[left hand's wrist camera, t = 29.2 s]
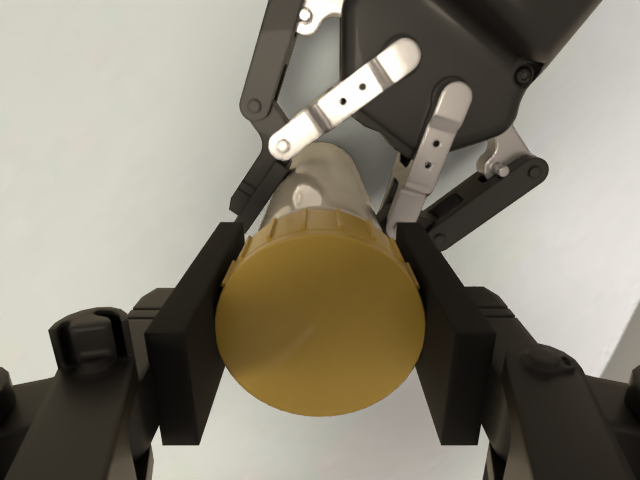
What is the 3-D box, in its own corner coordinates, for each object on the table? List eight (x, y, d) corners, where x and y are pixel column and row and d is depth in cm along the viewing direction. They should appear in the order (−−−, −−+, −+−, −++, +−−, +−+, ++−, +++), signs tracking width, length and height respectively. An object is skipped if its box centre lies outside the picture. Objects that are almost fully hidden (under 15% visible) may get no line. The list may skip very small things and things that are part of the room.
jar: (293, 132, 24) (256, 204, 10) (368, 154, 25) (431, 253, 11) (273, 206, 26) (218, 355, 12) (345, 226, 27) (373, 393, 12)
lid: (257, 385, 13) (247, 435, 11) (201, 230, 11) (179, 259, 10) (424, 352, 13) (442, 399, 11) (394, 185, 11) (409, 208, 9)
